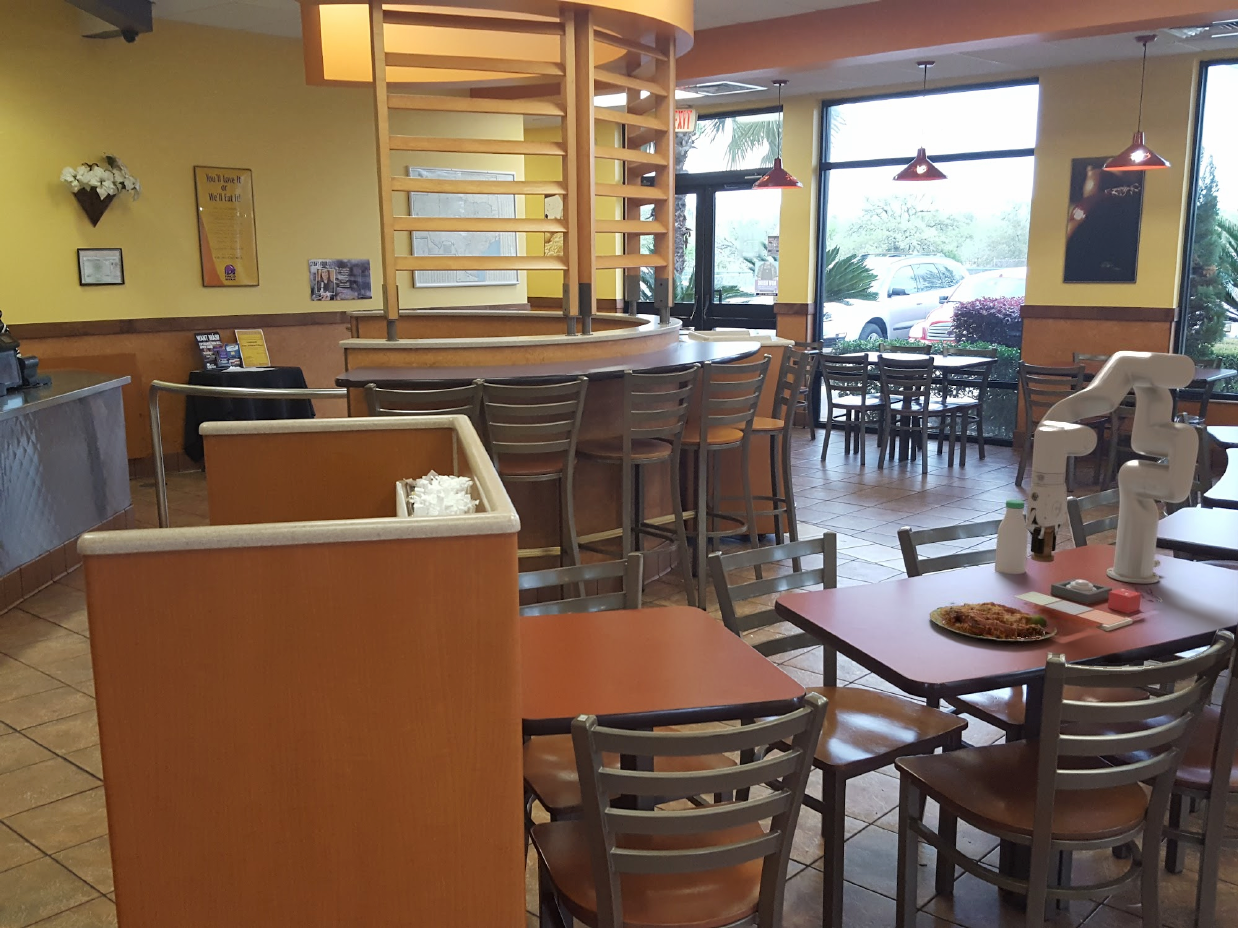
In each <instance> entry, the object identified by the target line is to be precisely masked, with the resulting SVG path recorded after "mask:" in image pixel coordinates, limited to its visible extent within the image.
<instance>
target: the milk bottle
mask: <svg viewBox="0 0 1238 928" xmlns="http://www.w3.org/2000/svg"><path fill="white" fill-rule="evenodd" d="M1005 509H1006V511H1005V514H1004V517H1003V519H1001V522H1000V524H999V526H998V529H997V536H996V538H997V539H996V545H995V546H996V548H995V549H996V550H995V561H994V571H995V573H999V572H1000V573H1002V574H1003V573H1004V574H1009V575H1010V574H1011V575H1013V574H1014V575H1019V574H1024V573H1025V572H1026V566H1027V556H1028V555H1027V553H1028V542H1029V539H1028V537H1029V531H1028V530H1027V529H1026V528H1025V526H1026V524H1027V522H1026V521H1025V517H1024V510H1025V502H1024V500H1023V501H1022V500H1019V499H1007V500H1006V502H1005Z"/></svg>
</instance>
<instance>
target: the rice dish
mask: <svg viewBox="0 0 1238 928" xmlns="http://www.w3.org/2000/svg"><path fill="white" fill-rule="evenodd" d="M929 617H930V620H931V621H933V622H934V623H935V624H938V626H941V627H943V628H946V629H948V630H951V631H953V632H954V633H958V634H960V635H965V636H968V637H972V638H978V639H981V640H982V639H989V640H994V641H997V642H1003V641H1008V642H1020V641H1021V642H1032V641H1036V640H1037V641H1038V640H1039V641H1040V640H1042V639H1048V638H1050V637H1053V636H1055V635H1056V634H1057V633H1058V630H1057V627H1053V628H1054V629H1053V630H1054V631H1053V632H1048V631H1045V630H1044V627H1046V626H1047V625H1048V621H1047V619H1046V618H1045V617H1044V616H1043V615H1040V614H1037V615H1031V614H1030V613H1028V612H1022V611H1021V610H1020V608H1016V607H1013V606H1006V605H1005V604H1001V603H995V602H993V601H989V602H986V601H985V602H982V603H980V602H979V603H968V602H963V605H959V604H958V605H949V606H941V607H938V608H935V609H933V610H932V611H931V612H930V613H929ZM1043 631H1045V635H1044V633H1043ZM1036 636H1041V638H1039V639H1038V638H1036V639H1033V638H1031V639H1020V638H1017V637H1021V638H1026V637H1036Z"/></svg>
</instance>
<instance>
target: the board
mask: <svg viewBox="0 0 1238 928" xmlns="http://www.w3.org/2000/svg"><path fill="white" fill-rule="evenodd" d="M1013 598H1015V599H1019V600H1022V601H1026V602H1029V603H1033V604H1037V605H1039V606H1044V607H1046V608H1049V609H1053V610H1056V611H1059V612H1062V613H1066V614H1070V615H1073V616H1075V615H1076V617H1080V618H1083V619H1086V620H1090V621H1093V622H1097V623H1100V625H1096V626H1095V628H1096V629H1098V630H1099V629H1100V630H1103V631H1106V632H1109V631H1113V630H1115V629H1118V628H1122V627H1125V626H1128V625H1131V624H1133V621H1134V620H1133V618H1130V617H1128V616H1126V617H1123V616H1120V615H1117V614H1112V613H1109V612H1105V611H1102V610H1099V609H1094V608H1092V607H1089V606H1085V605H1081V604H1078V603H1076V602H1075V603H1074V602H1072V601H1067V600H1063V599H1061V598H1057V597H1054V596H1049V595H1047V594H1043V593H1041V592H1036V591H1030V592H1026V593H1023V594H1018V595H1014V596H1013Z"/></svg>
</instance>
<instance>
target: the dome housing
mask: <svg viewBox="0 0 1238 928" xmlns="http://www.w3.org/2000/svg"><path fill="white" fill-rule="evenodd" d="M1075 580H1081V579H1080V578H1075V577H1074V578H1072V579H1067V580H1064V581H1063V580H1062V581H1060V582H1056V583H1052V584H1051V585H1050V595H1053V596H1056V597H1060V598H1063V599H1067V600H1071V601H1074V602H1077V603H1081V604H1085V605H1091V604H1094V603H1098V602H1101V601H1104V600H1109V592H1110V591H1113V588H1112V587H1109V586H1107V585H1106V586H1105V585H1101V584H1099V583H1098V584H1097V583H1094V582H1090V581H1088V582H1089V583H1091V584H1092V585H1093V587H1094V588H1096V589H1097V590H1095V591H1091V592H1088V593H1086V592H1082V591H1079V590H1075V589H1072V588H1068V587H1066V586H1067V585H1069V584H1070V583H1071V582H1073V581H1075Z"/></svg>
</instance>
